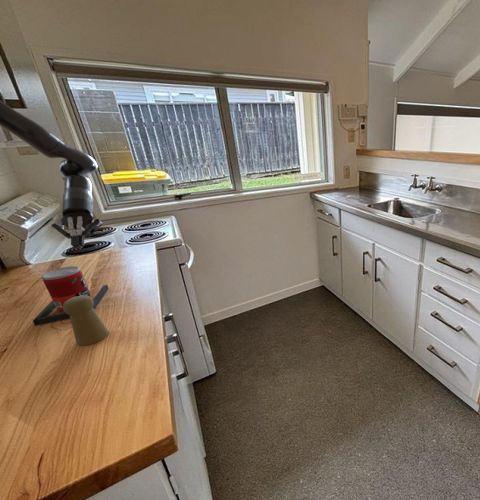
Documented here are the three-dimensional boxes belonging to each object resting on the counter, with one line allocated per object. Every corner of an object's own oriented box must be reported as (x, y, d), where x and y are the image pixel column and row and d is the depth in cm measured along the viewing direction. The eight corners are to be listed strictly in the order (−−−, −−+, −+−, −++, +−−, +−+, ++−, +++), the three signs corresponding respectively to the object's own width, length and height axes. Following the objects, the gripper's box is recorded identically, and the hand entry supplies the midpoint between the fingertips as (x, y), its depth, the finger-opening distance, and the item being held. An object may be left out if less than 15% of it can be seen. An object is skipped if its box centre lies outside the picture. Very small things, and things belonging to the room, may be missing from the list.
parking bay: (34, 325, 74) (32, 320, 74) (61, 297, 88) (59, 293, 87) (92, 313, 79) (90, 308, 78) (108, 288, 93) (107, 284, 92)
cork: (85, 348, 65) (67, 307, 61) (70, 342, 67) (51, 303, 63) (114, 332, 70) (98, 294, 66) (99, 327, 72) (83, 290, 68)
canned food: (88, 307, 82) (73, 273, 78) (52, 315, 79) (34, 280, 75) (97, 295, 88) (83, 263, 84) (64, 302, 85) (48, 269, 81)
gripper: (45, 199, 91) (43, 245, 85) (96, 194, 96) (97, 238, 91) (59, 211, 98) (57, 256, 92) (106, 207, 103) (108, 249, 97)
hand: (77, 247), depth 91 cm, fingers closed
